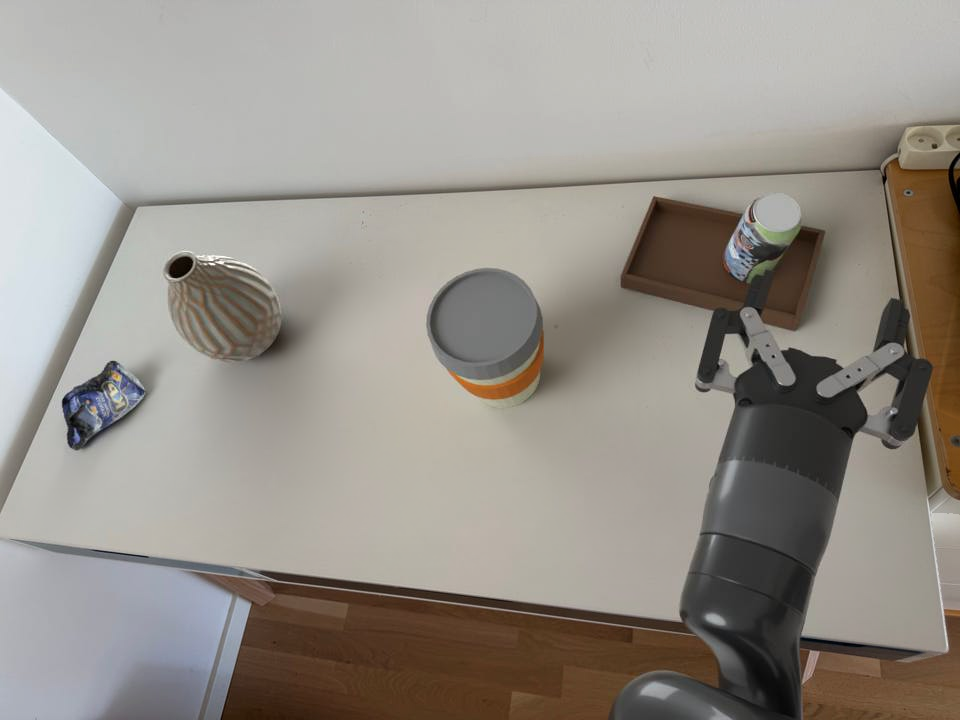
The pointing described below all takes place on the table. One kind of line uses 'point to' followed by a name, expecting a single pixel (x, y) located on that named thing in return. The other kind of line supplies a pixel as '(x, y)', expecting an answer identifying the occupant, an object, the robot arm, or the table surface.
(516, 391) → the reusable coffee cup
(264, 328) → the vase
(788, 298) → the serving tray
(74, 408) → the snack package
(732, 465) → the robot arm
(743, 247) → the beverage can
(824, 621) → the table surface
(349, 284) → the table surface
